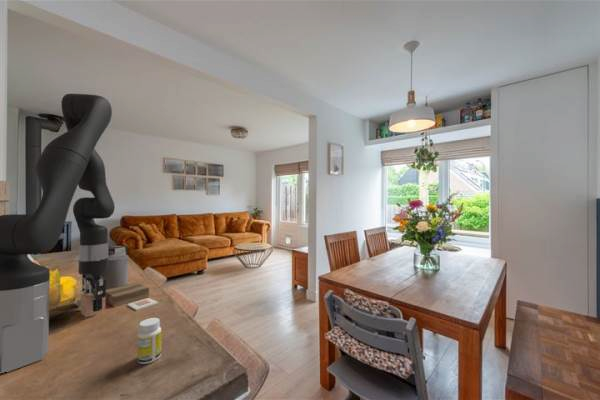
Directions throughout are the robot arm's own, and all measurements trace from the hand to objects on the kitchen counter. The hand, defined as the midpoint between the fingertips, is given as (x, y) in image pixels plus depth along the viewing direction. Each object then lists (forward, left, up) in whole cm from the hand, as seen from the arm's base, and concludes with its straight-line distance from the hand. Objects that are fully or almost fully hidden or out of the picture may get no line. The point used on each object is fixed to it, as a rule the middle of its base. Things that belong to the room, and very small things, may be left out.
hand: (93, 307), depth 80 cm
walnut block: (+4, -11, -2) cm, 12 cm away
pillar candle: (+19, -12, -2) cm, 22 cm away
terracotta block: (0, 0, -2) cm, 2 cm away
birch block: (+11, -1, -2) cm, 11 cm away
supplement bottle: (-41, +1, -2) cm, 41 cm away
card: (-7, -12, -1) cm, 14 cm away
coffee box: (+31, -16, -2) cm, 35 cm away
